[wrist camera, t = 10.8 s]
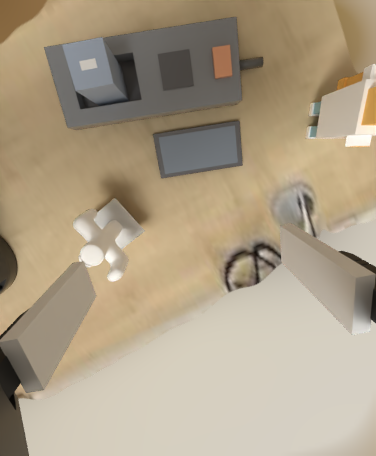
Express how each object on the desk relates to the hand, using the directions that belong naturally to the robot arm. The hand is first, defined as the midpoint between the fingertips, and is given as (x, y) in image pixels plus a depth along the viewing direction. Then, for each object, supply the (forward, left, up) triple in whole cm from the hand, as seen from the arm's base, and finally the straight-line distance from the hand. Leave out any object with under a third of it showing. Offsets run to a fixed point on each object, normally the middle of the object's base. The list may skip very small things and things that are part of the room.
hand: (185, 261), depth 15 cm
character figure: (+25, +8, -27) cm, 38 cm away
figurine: (-12, -3, -27) cm, 29 cm away
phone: (+4, +7, -26) cm, 28 cm away
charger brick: (-8, +18, -26) cm, 32 cm away
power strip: (0, +18, -26) cm, 32 cm away
